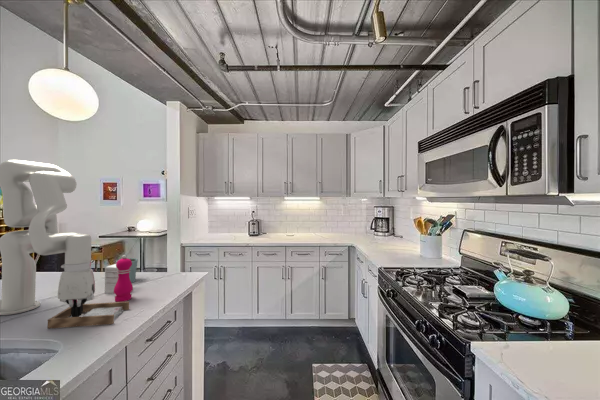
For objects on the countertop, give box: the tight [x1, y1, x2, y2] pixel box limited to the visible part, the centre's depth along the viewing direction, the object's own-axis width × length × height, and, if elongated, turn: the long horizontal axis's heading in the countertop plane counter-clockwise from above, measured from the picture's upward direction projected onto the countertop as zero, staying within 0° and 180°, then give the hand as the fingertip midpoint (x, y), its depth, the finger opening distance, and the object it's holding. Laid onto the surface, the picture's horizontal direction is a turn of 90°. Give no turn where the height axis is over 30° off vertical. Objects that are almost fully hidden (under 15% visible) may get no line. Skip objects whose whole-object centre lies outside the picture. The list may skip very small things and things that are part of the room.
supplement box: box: [104, 263, 118, 294], centre depth 131 cm, size 7×7×13 cm
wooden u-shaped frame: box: [46, 301, 130, 329], centre depth 100 cm, size 20×14×3 cm
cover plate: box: [81, 307, 123, 320], centre depth 101 cm, size 10×9×2 cm
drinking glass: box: [115, 257, 139, 284], centre depth 146 cm, size 10×10×12 cm
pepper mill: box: [113, 254, 134, 302], centre depth 120 cm, size 7×7×20 cm
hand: (76, 316), depth 99 cm, fingers closed
